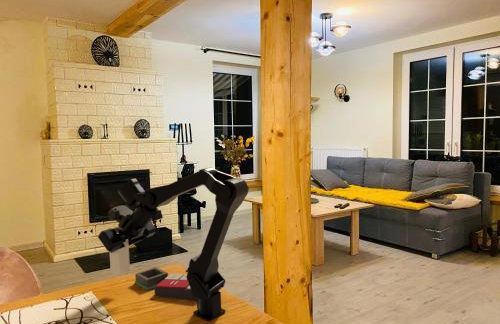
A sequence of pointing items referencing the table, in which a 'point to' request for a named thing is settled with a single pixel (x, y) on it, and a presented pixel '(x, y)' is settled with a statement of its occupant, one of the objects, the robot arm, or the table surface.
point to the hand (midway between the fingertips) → (115, 249)
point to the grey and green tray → (150, 278)
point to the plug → (120, 259)
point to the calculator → (175, 287)
